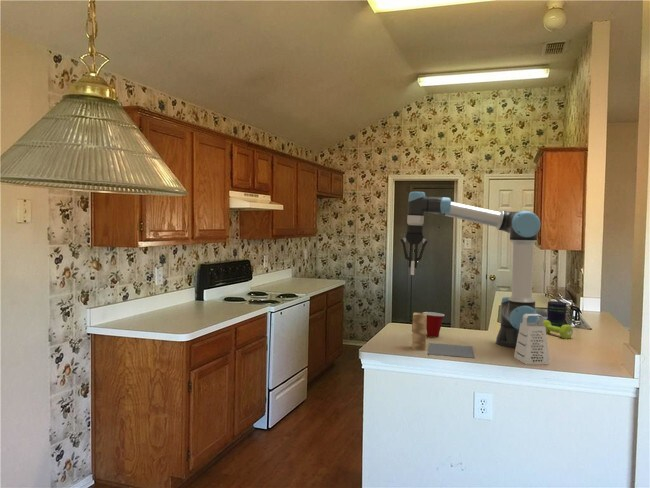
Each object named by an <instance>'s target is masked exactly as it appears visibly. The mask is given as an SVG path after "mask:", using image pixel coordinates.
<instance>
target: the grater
mask: <svg viewBox="0 0 650 488" xmlns="http://www.w3.org/2000/svg"><path fill="white" fill-rule="evenodd" d="M528 316H538V322H537V323H527V317H528ZM543 320H545V319H544V317H543V315H542V314H539V313H537V314H524V315H523V323H520V328H519V333H518V338H517V344H516V348H514V349H515V350H514V355H513V358H514V357H515V358H514V359H517V360H518V361H519V360H520V362H521V363H523V364H524V363H525V364H524V365H550V359H549V358H550V357H549V356H550V355H549V348H548V347H549V346H548V337H547V334H546V326H543Z"/></svg>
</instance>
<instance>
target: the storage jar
mask: <svg viewBox="0 0 650 488" xmlns="http://www.w3.org/2000/svg"><path fill="white" fill-rule="evenodd" d="M567 305H568V304H567V302H564V301H555V300H554V301H553V300H551V301H547V306H546V307H547V310H546V312H547V318H546V320H548V321H550V323H551V325H552V326H556V327H560V328H561V326H562V325H567V320H566V315H567Z"/></svg>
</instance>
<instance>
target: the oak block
mask: <svg viewBox="0 0 650 488" xmlns="http://www.w3.org/2000/svg"><path fill="white" fill-rule="evenodd" d="M426 322H427V313H423V312H413V314H412V320H411V323H412V325H411V332H412V337H411V339H412V340H411V341H412V343H411V350H416V351H417V350H418V351H426V349H427V348H426V347H427V331H426Z"/></svg>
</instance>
